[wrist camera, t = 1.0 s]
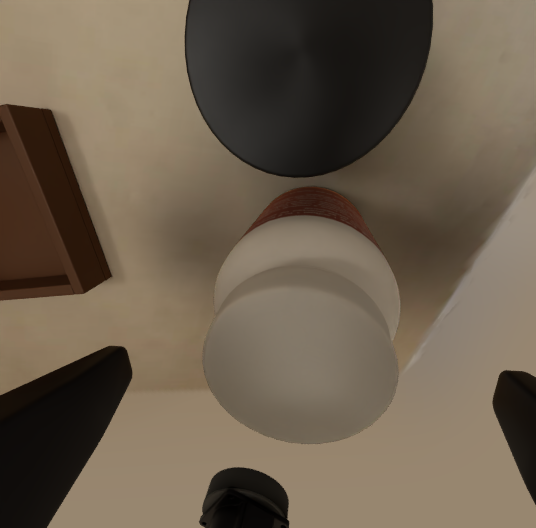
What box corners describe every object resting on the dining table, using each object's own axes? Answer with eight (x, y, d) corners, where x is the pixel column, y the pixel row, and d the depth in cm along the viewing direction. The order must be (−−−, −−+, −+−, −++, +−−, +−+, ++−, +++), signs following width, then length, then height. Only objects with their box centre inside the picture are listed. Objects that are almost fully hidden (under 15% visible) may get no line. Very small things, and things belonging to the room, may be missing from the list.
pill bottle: (238, 215, 17) (121, 312, 7) (338, 163, 15) (372, 196, 5) (286, 302, 19) (245, 483, 9) (382, 265, 17) (473, 442, 7)
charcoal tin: (326, 185, 16) (330, 218, 9) (230, 123, 16) (149, 102, 8) (402, 70, 14) (499, -19, 6) (291, -6, 13) (255, -196, 6)
